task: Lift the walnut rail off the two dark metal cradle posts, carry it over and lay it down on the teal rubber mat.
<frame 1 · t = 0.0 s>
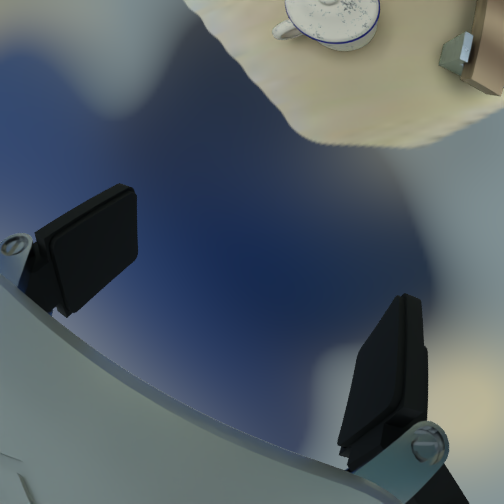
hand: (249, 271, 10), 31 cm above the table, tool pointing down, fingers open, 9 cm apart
rail: (490, 7, 14), point 7 cm above the table, touching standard, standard
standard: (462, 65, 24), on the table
teacup with lid: (330, 24, 28), on the table
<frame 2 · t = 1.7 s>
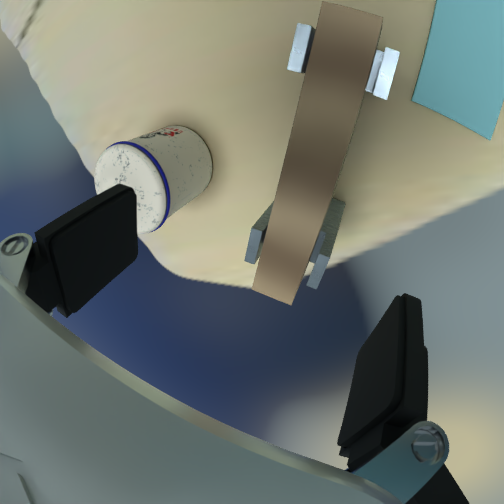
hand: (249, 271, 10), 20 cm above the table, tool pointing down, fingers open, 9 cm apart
rail: (320, 157, 20), point 7 cm above the table, touching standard, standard
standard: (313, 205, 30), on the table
mat: (478, 14, 14), on the table
teacup with lid: (172, 166, 34), on the table
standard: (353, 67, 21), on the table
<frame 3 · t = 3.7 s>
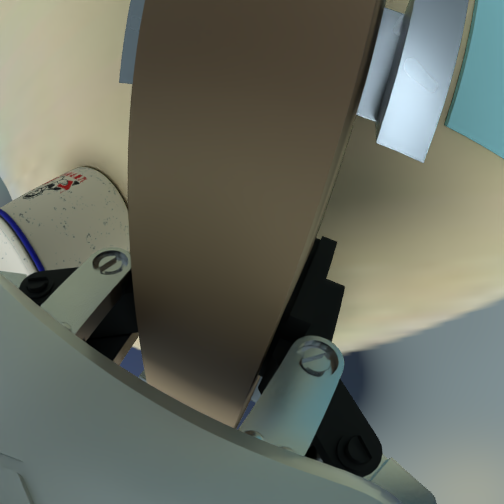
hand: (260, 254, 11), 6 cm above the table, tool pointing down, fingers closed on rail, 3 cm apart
rail: (252, 265, 10), point 7 cm above the table, touching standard, gripper, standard
teacup with lid: (90, 219, 24), on the table
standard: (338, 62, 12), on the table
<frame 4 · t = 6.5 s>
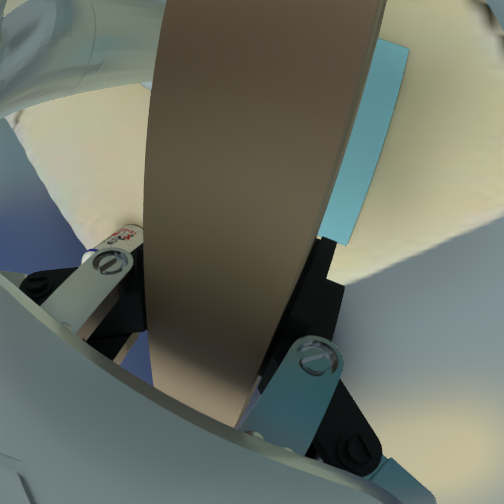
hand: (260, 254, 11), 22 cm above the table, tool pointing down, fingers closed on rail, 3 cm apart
rail: (256, 262, 11), point 22 cm above the table, touching gripper
mat: (341, 138, 28), on the table
teacup with lid: (135, 249, 48), on the table
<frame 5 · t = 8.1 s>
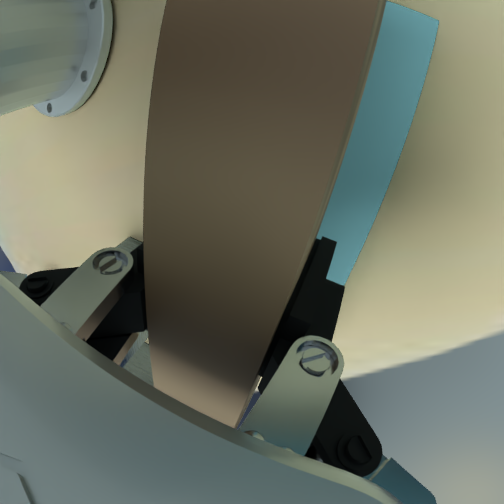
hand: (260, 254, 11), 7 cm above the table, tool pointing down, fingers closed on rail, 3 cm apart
rail: (256, 262, 11), point 7 cm above the table, touching gripper
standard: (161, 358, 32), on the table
mat: (306, 188, 16), on the table
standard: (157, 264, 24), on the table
when the fingers open (1 cm above the table, at t = 9.3 s): rail drops 1 cm, resting on mat.
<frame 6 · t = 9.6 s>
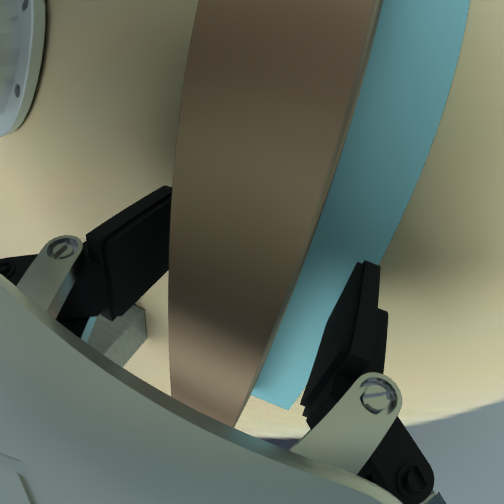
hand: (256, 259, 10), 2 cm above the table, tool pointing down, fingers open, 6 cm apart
rail: (265, 242, 12), point 1 cm above the table, touching mat
mat: (274, 234, 12), on the table
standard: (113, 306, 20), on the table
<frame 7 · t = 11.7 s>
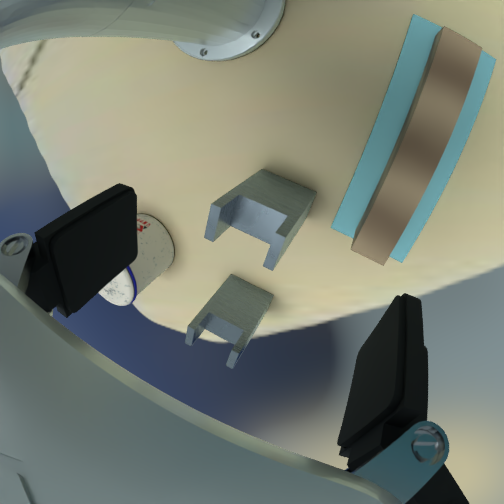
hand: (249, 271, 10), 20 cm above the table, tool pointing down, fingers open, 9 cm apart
rail: (415, 143, 22), point 1 cm above the table, touching mat
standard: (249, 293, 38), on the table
mat: (416, 142, 22), on the table
teacup with lid: (144, 242, 42), on the table
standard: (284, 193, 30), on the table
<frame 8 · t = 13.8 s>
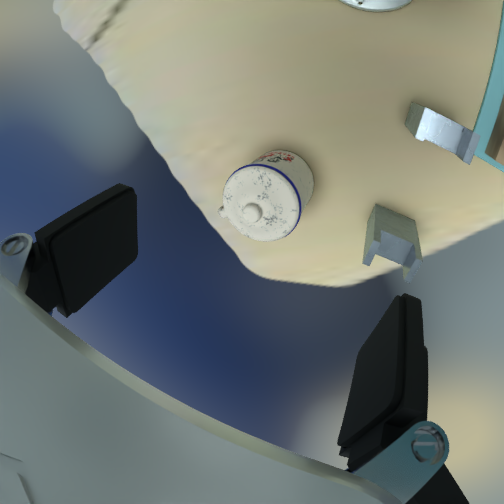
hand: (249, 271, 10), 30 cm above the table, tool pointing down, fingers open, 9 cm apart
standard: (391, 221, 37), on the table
teacup with lid: (273, 183, 41), on the table
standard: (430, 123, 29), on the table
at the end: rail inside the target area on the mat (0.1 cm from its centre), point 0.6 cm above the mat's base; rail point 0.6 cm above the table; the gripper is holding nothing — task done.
